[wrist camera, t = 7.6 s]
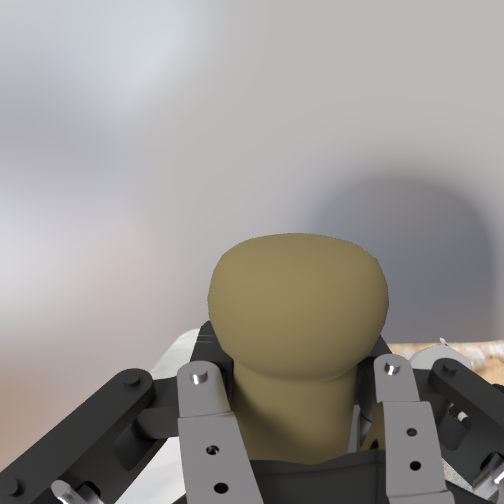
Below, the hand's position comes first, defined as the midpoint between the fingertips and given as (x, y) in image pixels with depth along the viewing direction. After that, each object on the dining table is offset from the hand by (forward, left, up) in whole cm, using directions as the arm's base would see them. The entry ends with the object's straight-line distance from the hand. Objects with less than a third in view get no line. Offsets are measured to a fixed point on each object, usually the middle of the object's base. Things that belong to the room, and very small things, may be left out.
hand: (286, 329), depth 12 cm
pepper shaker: (-1, +3, -7) cm, 7 cm away
